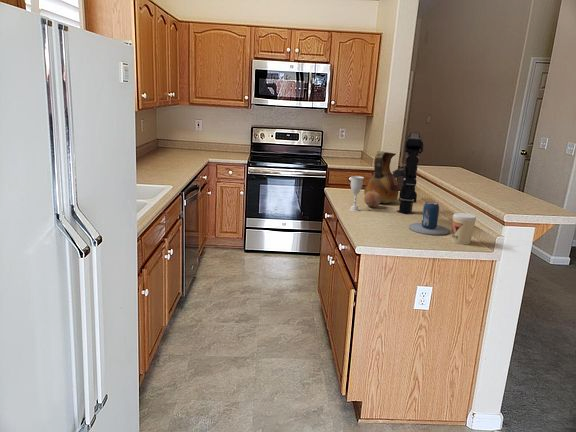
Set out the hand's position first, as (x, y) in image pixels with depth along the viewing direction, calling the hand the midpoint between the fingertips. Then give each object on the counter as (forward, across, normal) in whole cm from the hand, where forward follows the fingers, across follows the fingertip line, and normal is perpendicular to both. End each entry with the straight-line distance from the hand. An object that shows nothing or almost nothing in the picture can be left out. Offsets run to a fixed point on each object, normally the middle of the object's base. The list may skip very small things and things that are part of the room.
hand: (407, 195), depth 228 cm
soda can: (+12, +12, +11) cm, 21 cm away
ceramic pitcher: (+13, -42, -15) cm, 46 cm away
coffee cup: (+13, +27, +24) cm, 38 cm away
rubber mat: (+13, +12, +11) cm, 21 cm away
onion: (+13, -24, -18) cm, 33 cm away
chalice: (+13, -13, -27) cm, 33 cm away
